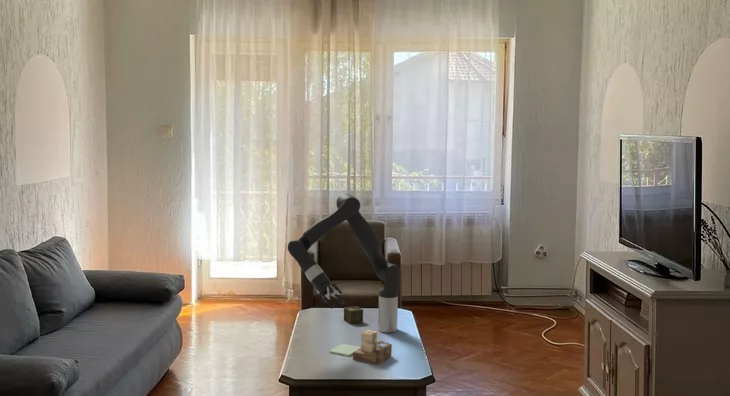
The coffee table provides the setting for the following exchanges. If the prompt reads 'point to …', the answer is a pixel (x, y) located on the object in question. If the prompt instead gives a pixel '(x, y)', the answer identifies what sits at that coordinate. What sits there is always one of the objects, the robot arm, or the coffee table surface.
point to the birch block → (369, 341)
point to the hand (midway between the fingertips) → (338, 305)
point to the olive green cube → (353, 315)
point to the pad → (344, 350)
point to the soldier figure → (380, 343)
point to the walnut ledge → (374, 354)
